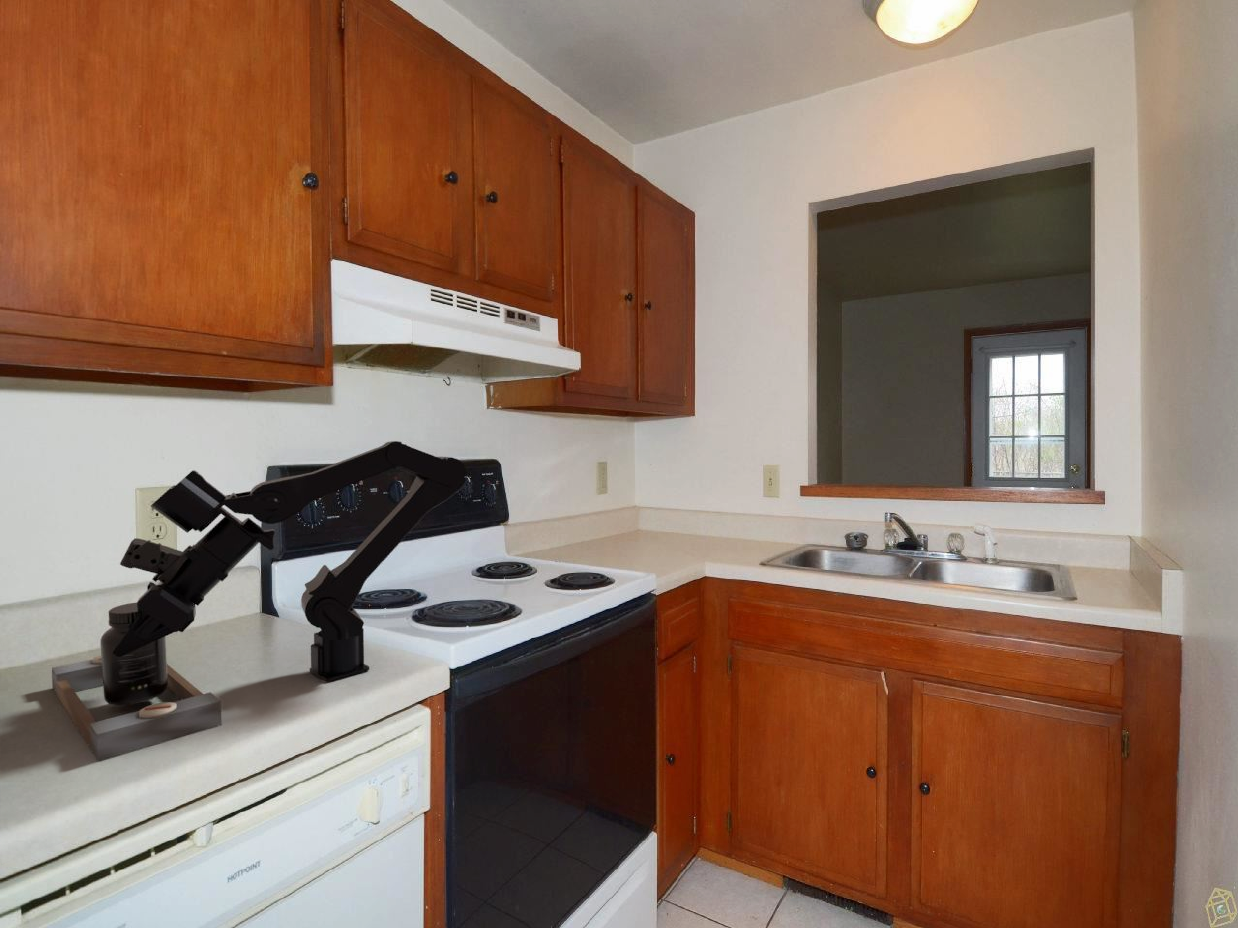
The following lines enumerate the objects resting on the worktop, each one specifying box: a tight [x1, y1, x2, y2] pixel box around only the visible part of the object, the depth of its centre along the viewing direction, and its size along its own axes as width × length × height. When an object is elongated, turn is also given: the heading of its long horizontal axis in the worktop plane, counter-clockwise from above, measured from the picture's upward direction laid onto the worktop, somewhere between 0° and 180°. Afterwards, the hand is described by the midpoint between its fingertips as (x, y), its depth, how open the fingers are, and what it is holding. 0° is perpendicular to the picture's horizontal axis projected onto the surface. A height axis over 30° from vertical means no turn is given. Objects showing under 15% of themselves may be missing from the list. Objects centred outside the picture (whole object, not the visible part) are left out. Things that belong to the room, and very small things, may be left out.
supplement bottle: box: [100, 602, 168, 707], centre depth 84 cm, size 7×7×12 cm
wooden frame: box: [51, 655, 222, 762], centre depth 85 cm, size 12×31×4 cm, turn 49°
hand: (120, 647), depth 83 cm, fingers closed on supplement bottle, 7 cm apart
